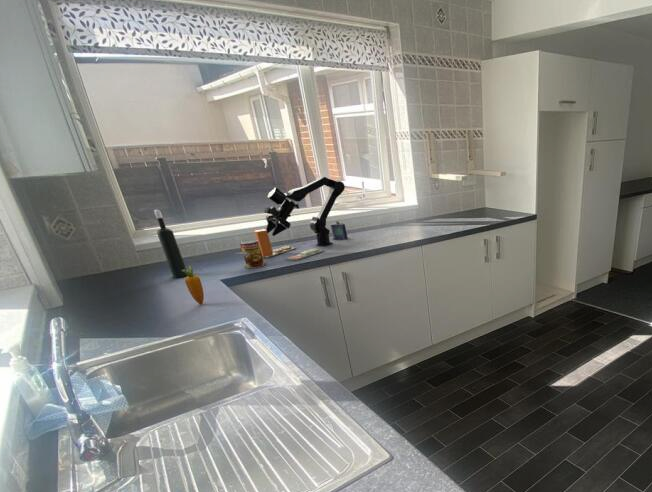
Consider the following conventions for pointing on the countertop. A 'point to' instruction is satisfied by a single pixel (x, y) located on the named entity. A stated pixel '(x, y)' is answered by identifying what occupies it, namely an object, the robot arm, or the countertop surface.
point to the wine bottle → (170, 248)
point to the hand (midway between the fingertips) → (269, 234)
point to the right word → (305, 254)
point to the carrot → (194, 286)
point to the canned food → (252, 253)
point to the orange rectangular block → (263, 242)
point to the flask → (338, 231)
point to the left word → (280, 251)
